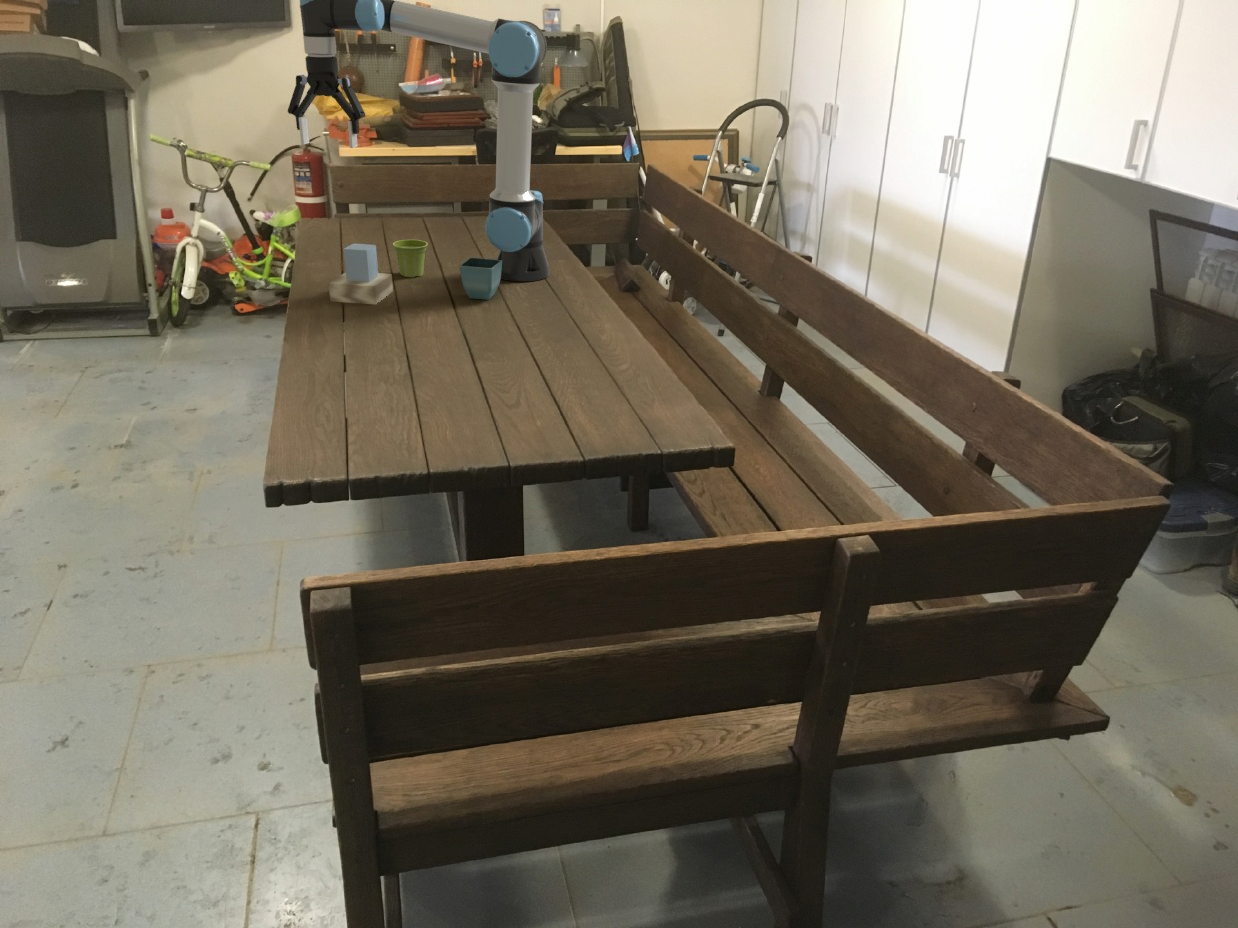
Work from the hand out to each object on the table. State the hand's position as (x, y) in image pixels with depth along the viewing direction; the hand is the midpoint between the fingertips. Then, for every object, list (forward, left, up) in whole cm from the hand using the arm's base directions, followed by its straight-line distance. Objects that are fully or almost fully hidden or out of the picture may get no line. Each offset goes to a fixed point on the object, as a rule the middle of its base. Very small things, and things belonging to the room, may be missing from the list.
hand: (329, 145), depth 251 cm
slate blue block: (-13, +13, -30) cm, 35 cm away
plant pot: (-16, -10, -35) cm, 39 cm away
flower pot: (-42, +3, -35) cm, 54 cm away
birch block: (-13, +13, -35) cm, 39 cm away
